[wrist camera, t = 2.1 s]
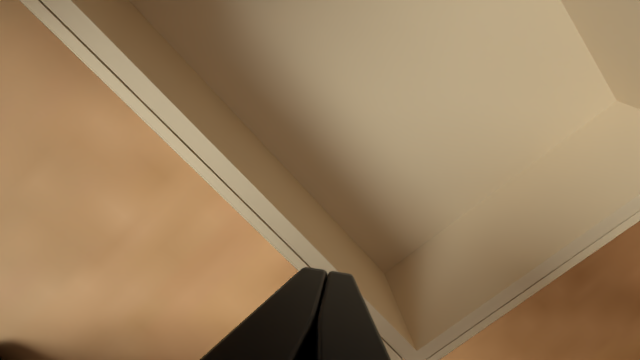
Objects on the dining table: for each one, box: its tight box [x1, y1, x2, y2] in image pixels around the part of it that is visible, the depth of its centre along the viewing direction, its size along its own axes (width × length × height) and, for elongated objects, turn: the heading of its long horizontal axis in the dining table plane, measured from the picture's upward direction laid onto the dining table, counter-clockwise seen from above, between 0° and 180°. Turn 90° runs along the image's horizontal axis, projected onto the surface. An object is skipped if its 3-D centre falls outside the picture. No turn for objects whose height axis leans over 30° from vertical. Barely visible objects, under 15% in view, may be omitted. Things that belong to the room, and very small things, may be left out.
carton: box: [20, 0, 640, 360], centre depth 15 cm, size 12×17×5 cm
